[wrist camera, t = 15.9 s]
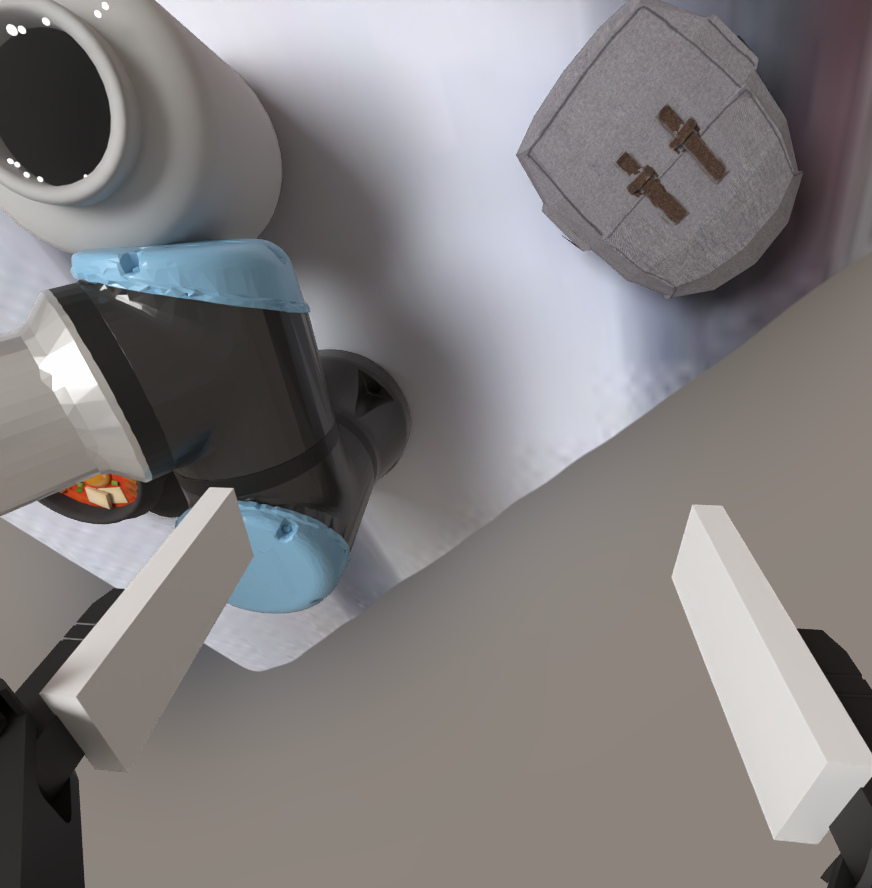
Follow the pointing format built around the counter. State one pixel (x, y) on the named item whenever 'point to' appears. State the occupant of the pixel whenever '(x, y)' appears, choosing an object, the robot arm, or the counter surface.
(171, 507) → the casserole
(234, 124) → the jar
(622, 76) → the small grey backpack
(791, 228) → the counter surface
